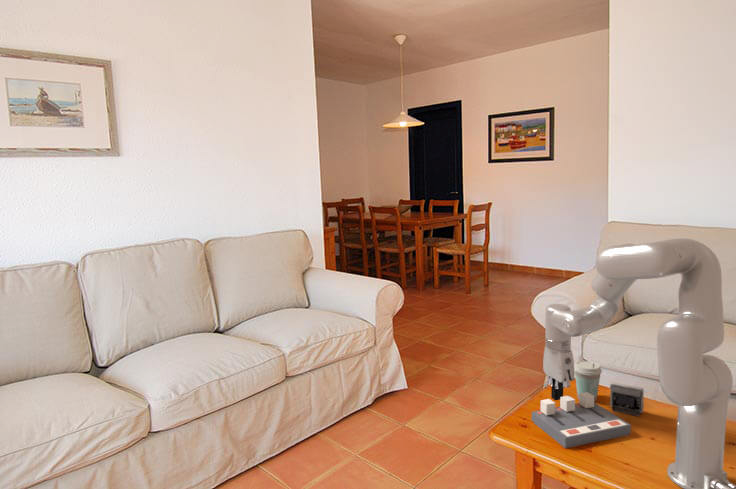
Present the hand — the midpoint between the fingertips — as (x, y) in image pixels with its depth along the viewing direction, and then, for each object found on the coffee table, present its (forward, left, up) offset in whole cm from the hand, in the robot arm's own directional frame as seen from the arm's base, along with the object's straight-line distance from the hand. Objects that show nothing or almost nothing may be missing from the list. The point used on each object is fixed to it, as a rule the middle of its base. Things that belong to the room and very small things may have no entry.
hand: (557, 398), depth 153 cm
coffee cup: (+5, -15, -5) cm, 16 cm away
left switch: (-5, +7, -1) cm, 9 cm away
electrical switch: (-8, -20, -5) cm, 22 cm away
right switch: (-5, -7, -1) cm, 9 cm away
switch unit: (-10, 0, -4) cm, 11 cm away
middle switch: (-5, 0, -1) cm, 5 cm away
